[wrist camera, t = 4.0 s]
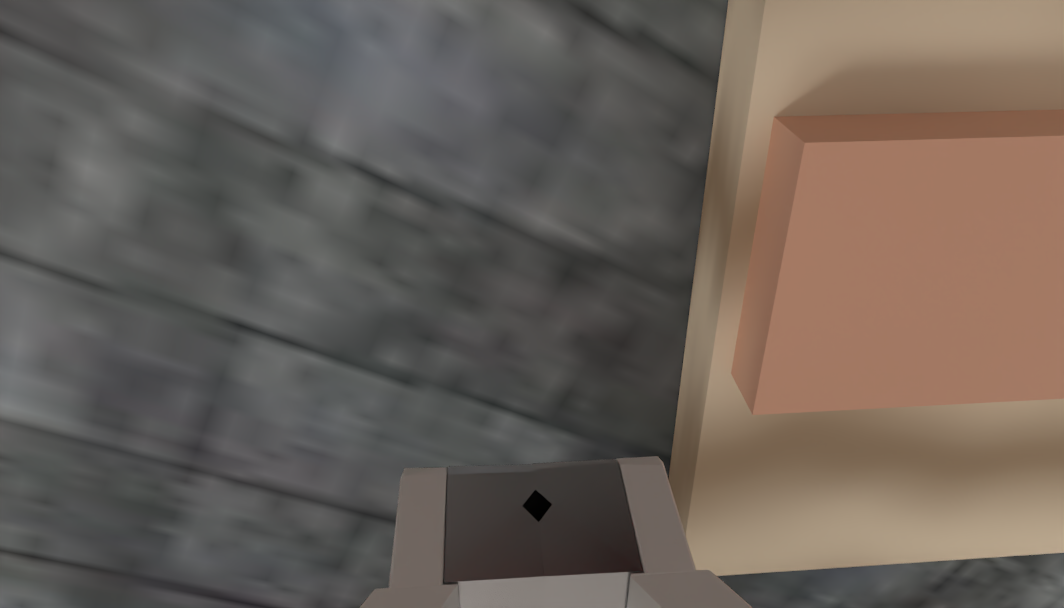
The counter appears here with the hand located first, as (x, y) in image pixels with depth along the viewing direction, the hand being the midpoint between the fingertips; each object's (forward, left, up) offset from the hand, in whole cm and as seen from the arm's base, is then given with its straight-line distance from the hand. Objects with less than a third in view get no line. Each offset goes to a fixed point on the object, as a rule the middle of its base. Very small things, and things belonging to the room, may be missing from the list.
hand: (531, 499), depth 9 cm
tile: (-1, -10, -7) cm, 12 cm away
